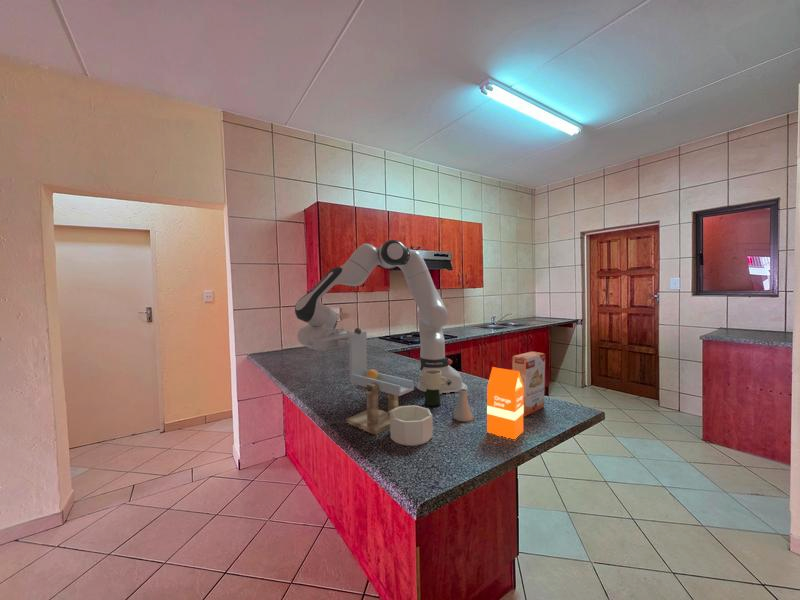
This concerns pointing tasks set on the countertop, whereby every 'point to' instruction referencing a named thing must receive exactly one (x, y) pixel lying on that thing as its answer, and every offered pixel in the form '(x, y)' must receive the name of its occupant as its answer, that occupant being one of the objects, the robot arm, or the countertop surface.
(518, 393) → the orange juice
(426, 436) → the cup
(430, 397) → the character mug
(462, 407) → the flask
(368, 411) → the trough stand
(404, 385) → the tipping trough
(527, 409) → the cracker box
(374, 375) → the ball
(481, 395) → the countertop surface
